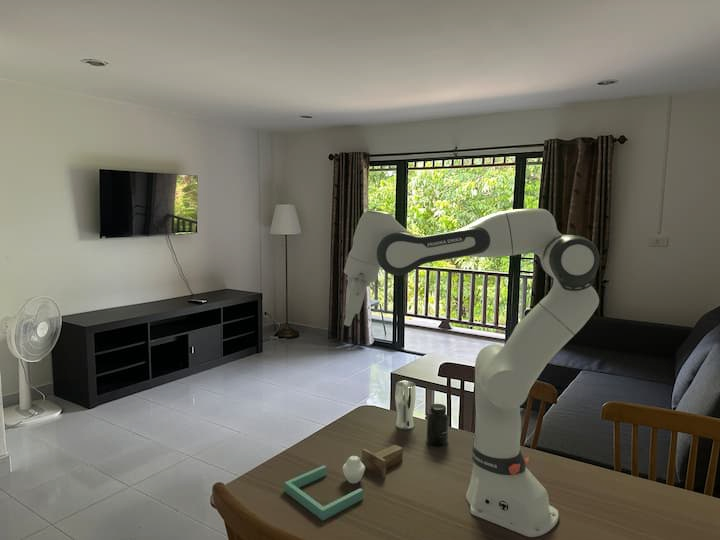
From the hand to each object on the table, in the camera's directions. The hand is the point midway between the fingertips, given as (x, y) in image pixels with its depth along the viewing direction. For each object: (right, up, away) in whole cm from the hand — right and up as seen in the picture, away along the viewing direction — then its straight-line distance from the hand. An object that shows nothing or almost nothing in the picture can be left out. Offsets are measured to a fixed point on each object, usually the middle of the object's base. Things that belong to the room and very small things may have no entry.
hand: (347, 319), depth 129 cm
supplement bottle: (+28, -42, +28) cm, 58 cm away
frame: (-6, -46, -1) cm, 46 cm away
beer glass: (+19, -41, +40) cm, 60 cm away
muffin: (+2, -45, +5) cm, 45 cm away
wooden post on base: (+11, -44, +14) cm, 47 cm away
